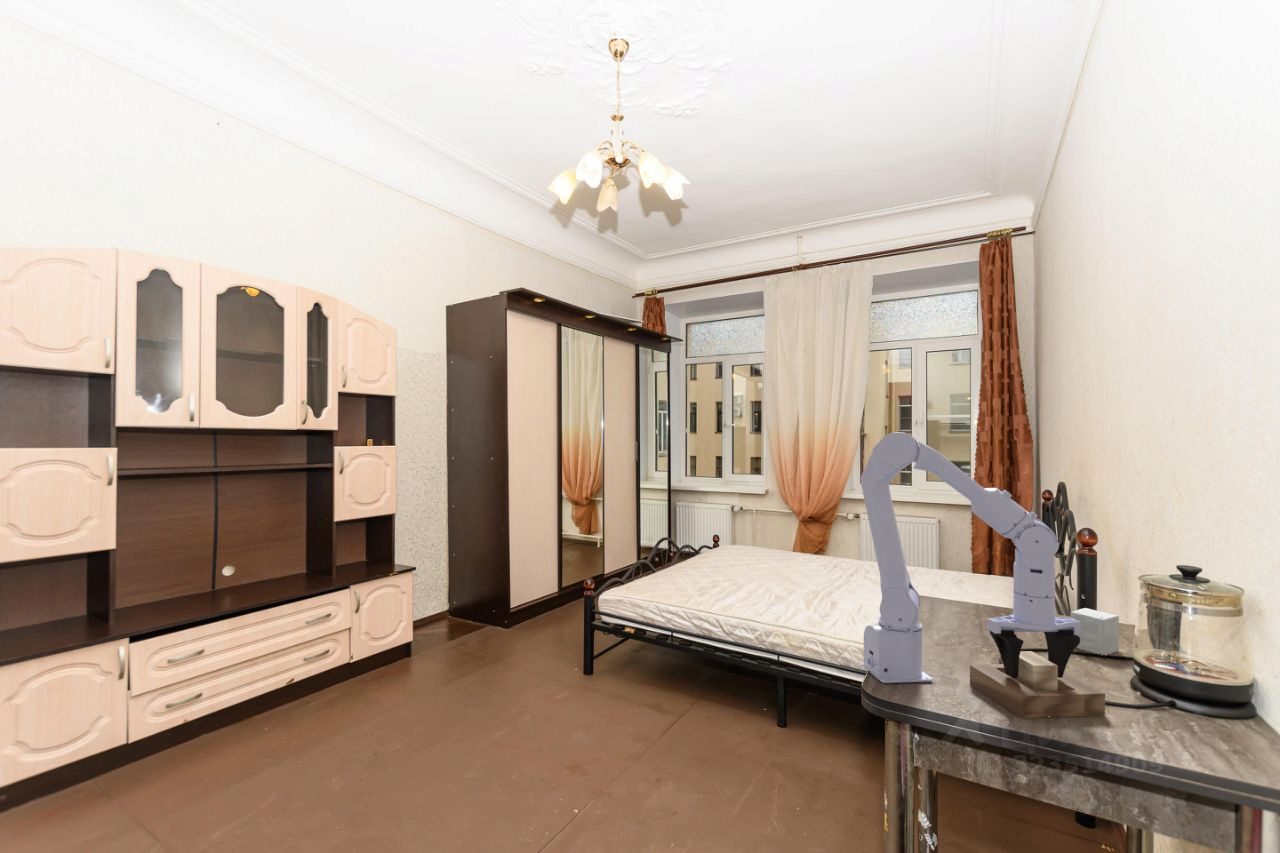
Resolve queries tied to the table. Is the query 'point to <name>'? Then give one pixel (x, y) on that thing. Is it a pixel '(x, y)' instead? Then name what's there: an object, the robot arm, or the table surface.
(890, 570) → the robot arm
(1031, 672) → the beige wooden block
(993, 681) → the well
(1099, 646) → the product box
